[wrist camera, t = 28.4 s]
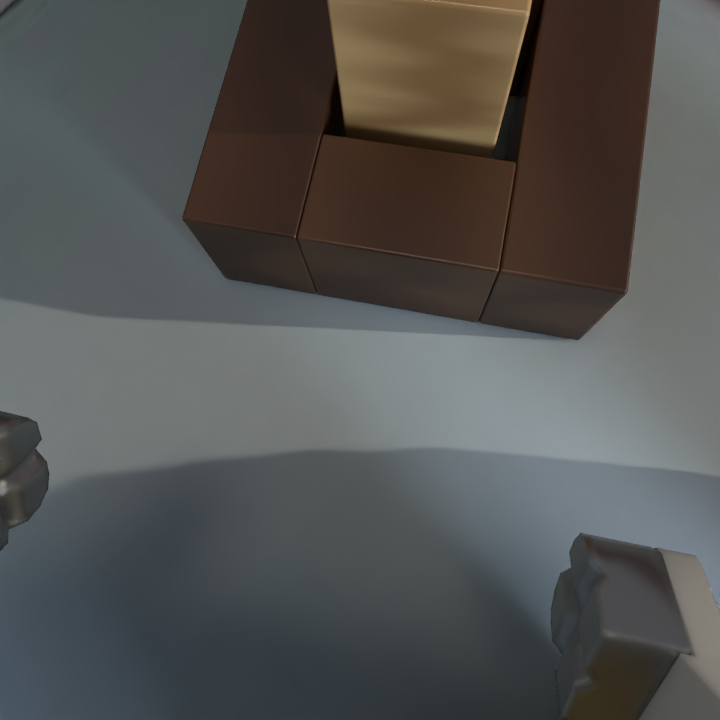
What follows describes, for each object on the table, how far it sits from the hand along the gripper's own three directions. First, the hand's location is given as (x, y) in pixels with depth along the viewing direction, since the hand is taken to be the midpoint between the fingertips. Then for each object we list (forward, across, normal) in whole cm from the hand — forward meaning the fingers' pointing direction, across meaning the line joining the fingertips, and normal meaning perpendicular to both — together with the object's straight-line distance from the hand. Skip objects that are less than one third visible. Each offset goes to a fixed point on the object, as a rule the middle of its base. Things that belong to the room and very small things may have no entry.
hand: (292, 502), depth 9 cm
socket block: (+14, 0, -2) cm, 14 cm away
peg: (+14, 0, -2) cm, 14 cm away
